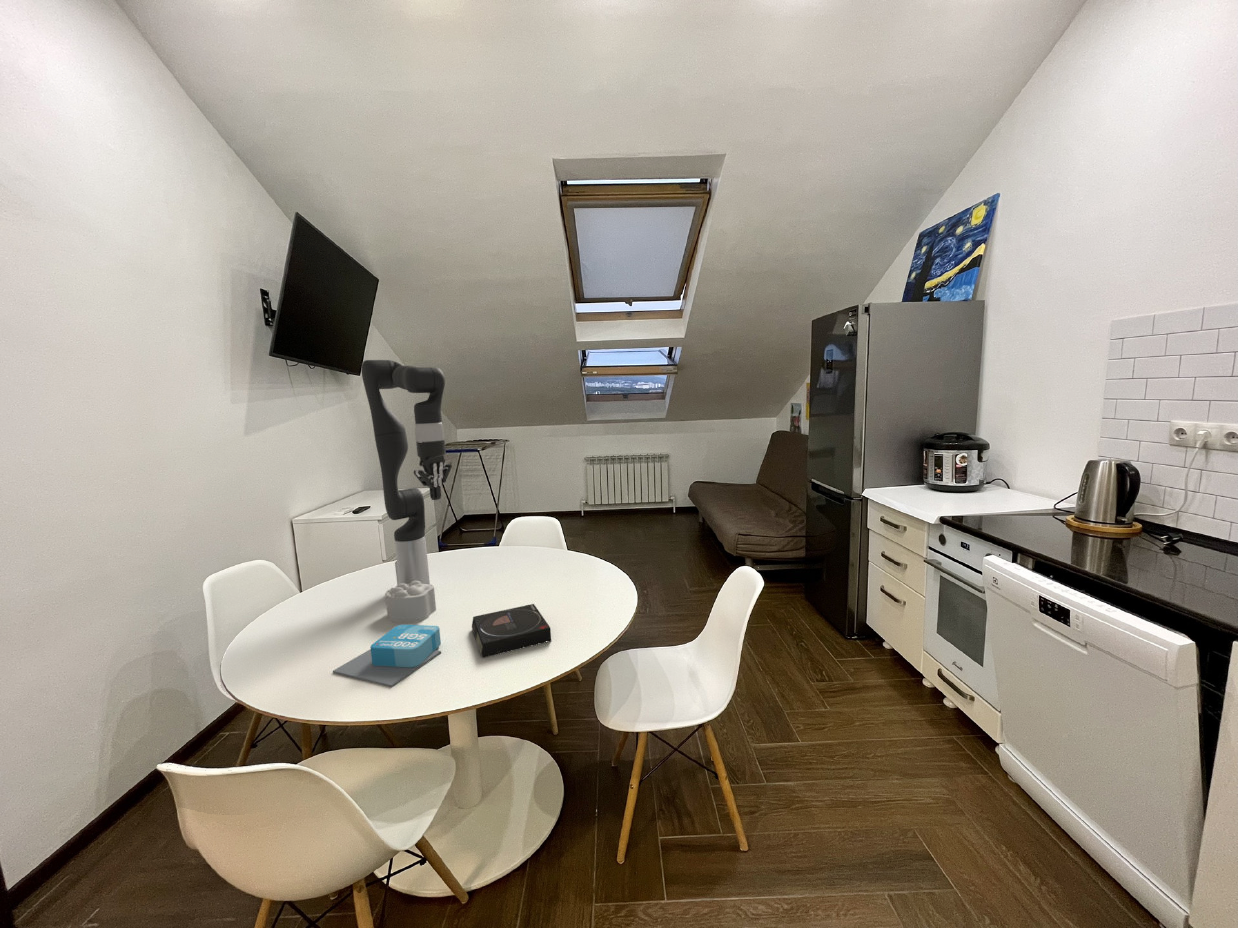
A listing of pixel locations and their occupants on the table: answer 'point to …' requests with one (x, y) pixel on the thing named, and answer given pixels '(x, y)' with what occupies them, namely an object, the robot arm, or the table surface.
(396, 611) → the bumpy-topped grey block
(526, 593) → the table surface
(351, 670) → the mat
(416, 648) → the data package
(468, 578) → the table surface
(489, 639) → the portable cd player
